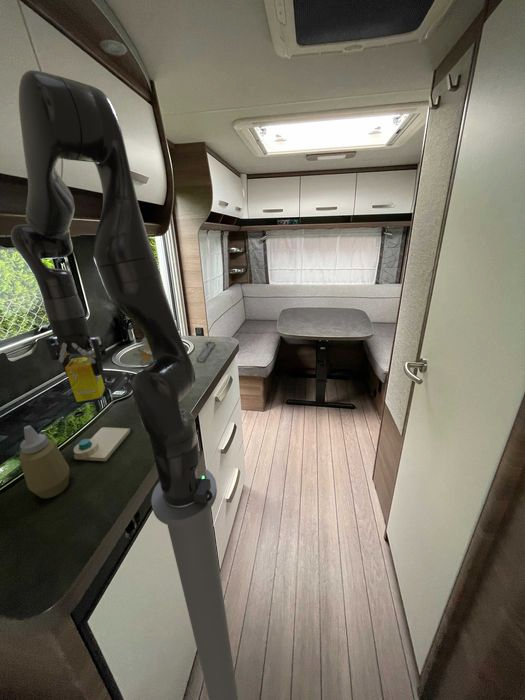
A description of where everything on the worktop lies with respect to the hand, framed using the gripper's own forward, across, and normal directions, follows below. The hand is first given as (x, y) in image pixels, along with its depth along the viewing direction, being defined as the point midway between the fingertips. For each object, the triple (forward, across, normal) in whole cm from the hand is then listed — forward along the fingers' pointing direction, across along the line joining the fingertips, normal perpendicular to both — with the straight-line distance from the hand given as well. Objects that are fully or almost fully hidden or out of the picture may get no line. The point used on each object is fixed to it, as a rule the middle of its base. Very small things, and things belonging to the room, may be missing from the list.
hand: (85, 374), depth 74 cm
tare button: (+19, -1, -6) cm, 20 cm away
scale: (+22, +1, -2) cm, 22 cm away
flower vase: (+22, +9, +24) cm, 34 cm away
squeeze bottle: (+22, -1, -18) cm, 28 cm away
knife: (+22, +10, +66) cm, 70 cm away
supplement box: (+7, 0, 0) cm, 7 cm away
